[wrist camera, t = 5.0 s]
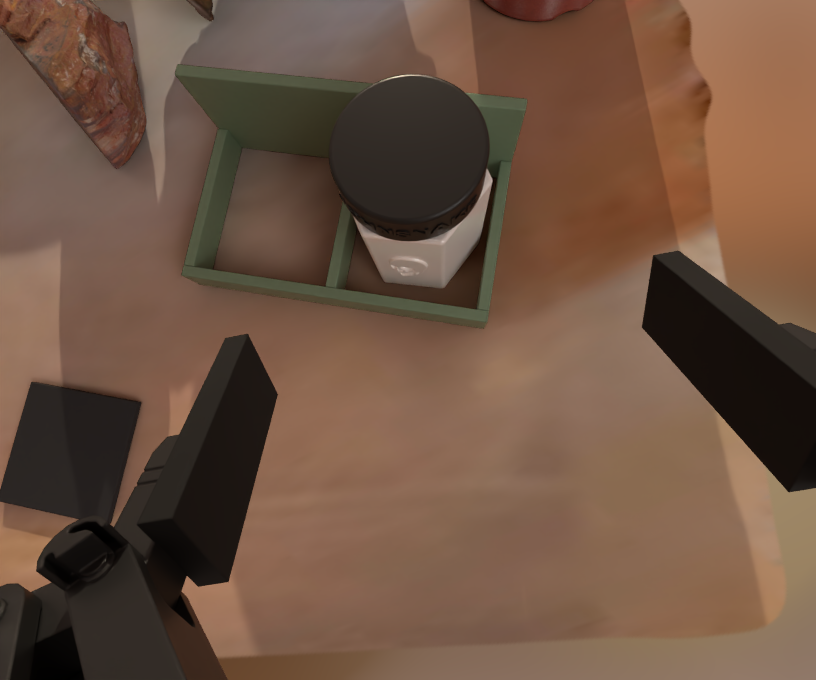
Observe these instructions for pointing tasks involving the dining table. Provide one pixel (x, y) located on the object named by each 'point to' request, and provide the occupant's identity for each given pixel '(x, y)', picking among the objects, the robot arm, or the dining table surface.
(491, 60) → the dining table surface
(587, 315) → the dining table surface
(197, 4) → the jug
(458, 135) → the jar
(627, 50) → the dining table surface
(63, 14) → the stone
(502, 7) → the flower pot
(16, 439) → the mat
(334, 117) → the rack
